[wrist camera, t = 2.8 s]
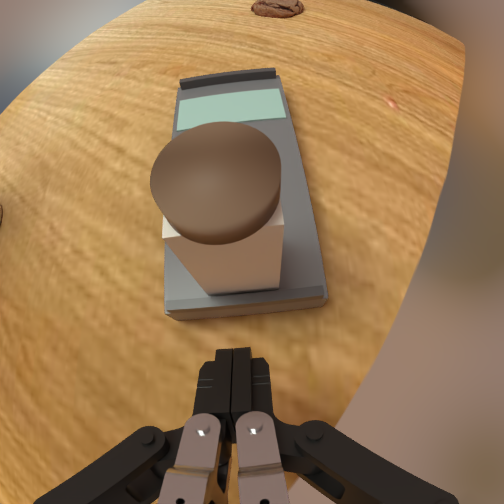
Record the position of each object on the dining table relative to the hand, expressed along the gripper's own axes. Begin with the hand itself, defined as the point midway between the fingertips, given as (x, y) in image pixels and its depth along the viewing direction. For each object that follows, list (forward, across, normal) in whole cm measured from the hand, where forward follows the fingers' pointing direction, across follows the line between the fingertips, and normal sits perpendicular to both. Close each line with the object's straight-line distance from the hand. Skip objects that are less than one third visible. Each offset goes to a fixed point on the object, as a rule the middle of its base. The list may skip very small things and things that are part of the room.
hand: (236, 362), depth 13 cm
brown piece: (+10, 0, 0) cm, 10 cm away
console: (+20, 0, -5) cm, 20 cm away
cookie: (+51, -10, -35) cm, 62 cm away
